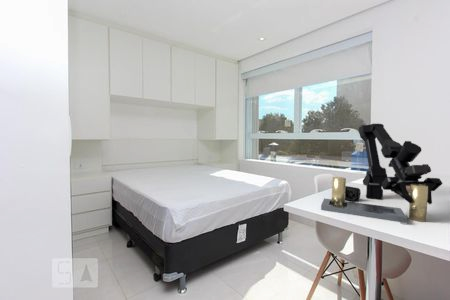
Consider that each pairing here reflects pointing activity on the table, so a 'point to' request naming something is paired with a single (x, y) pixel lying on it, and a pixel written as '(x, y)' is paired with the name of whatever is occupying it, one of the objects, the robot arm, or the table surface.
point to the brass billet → (418, 202)
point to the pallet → (366, 210)
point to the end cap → (352, 194)
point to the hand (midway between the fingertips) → (421, 203)
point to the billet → (338, 191)
